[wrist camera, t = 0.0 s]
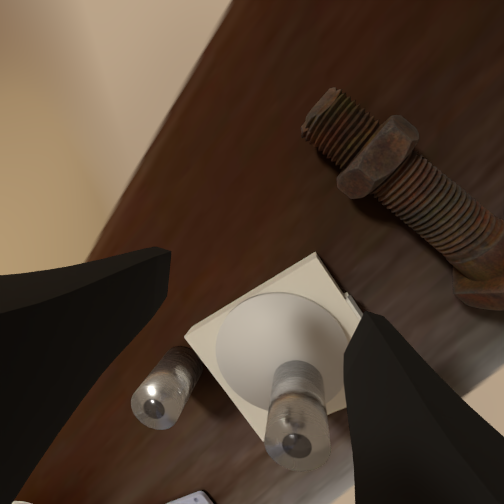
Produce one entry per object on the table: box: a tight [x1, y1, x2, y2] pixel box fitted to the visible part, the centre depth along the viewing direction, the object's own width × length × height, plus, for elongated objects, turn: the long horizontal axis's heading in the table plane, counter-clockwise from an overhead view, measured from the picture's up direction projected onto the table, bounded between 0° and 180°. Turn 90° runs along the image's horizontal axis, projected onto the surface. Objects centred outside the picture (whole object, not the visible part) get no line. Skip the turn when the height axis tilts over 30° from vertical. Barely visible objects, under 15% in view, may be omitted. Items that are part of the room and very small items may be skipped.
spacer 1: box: [131, 346, 203, 430], centre depth 22 cm, size 4×4×5 cm
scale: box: [184, 252, 363, 441], centre depth 21 cm, size 12×11×2 cm
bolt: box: [301, 87, 504, 310], centre depth 16 cm, size 6×5×15 cm
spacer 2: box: [264, 360, 331, 472], centre depth 17 cm, size 4×4×5 cm
